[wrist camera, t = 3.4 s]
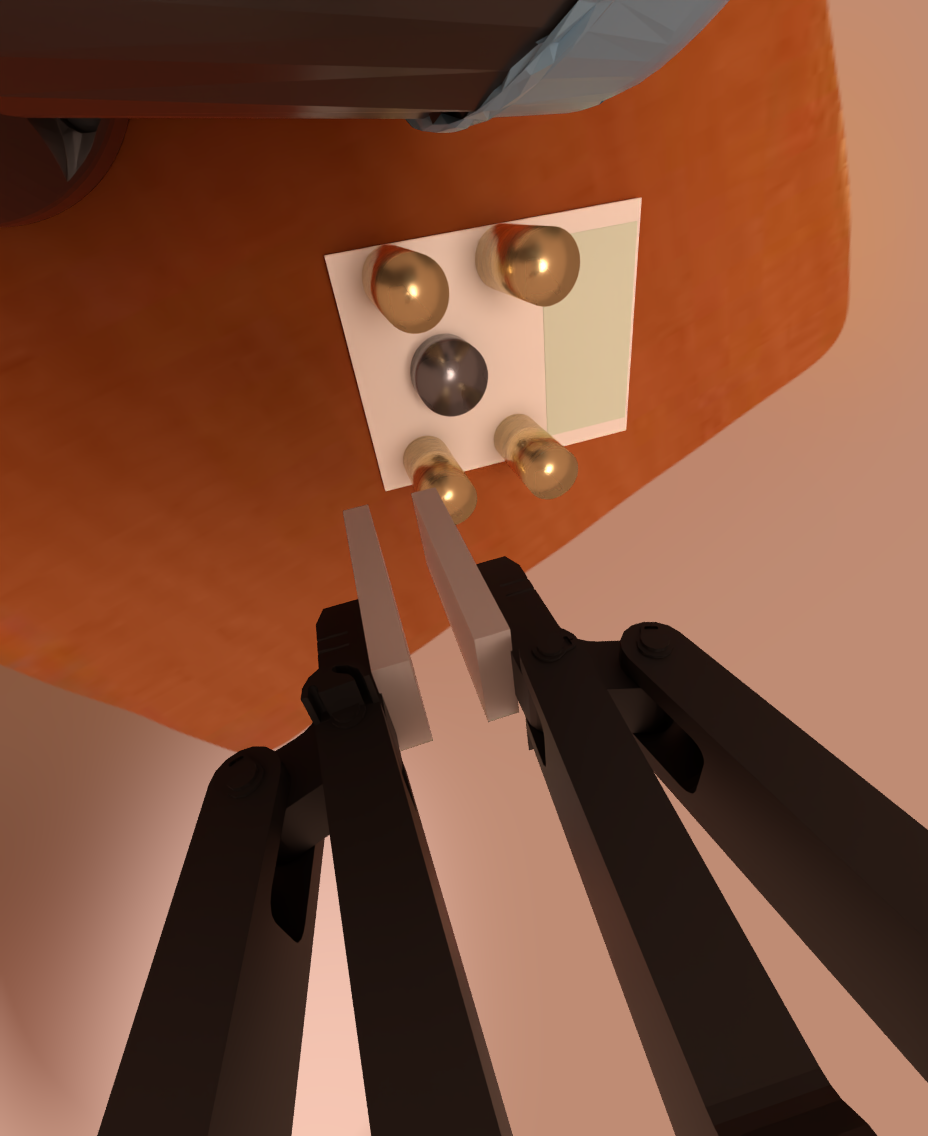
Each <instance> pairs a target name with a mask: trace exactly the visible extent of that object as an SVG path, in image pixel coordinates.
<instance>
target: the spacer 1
mask: <svg viewBox="0 0 928 1136" xmlns="http://www.w3.org/2000/svg"><path fill="white" fill-rule="evenodd" d="M362 283H363V288H364V290H365V293H366V295H367V297H368V298H369V299H370V301H371V302H372V303H373V304H374V305H375V306H376V307H377V309H378V310H379V311H380V312H381V313H382V314H383V315H384V316H385V317H386V319H387V320H388V321H389V322H390V323H391V324H392V325H393V326H394V327H396V328H397V329H399V330H401V331H403V332H406V333H411V334H419V333H424V332H426V331H429V330H431V329H432V328H434V327H435V326H436V325H437V324H438V323H439V322H440V321H441V319H442V318H443V316H444V314H445V312H446V310H447V307H448V303H449V285H448V281H447V278H446V276H445V273H444V272H443V270H442V268H441V267H440V266H439V264H438V263H437V262H436V261H435V260H433V259H432V258H431V257H429V256H427V255H424V254H422V253H419V252H416V251H412V250H409V249H406V248H403V247H400V246H397V245H390V244H388V245H382V246H380V247H377V248H376V249H374V250H373V251H372V252H371V253H370V254H369V255H368V257H367V258H366V260H365V262H364V265H363V269H362Z"/></svg>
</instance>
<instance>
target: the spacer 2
mask: <svg viewBox="0 0 928 1136" xmlns="http://www.w3.org/2000/svg"><path fill="white" fill-rule="evenodd" d="M403 465H404V468H405V470H406V472H407V474H408V477H409V479H410V481H411V483H412V486H413V488H414V490H415V492H418V491H422V490H426V489H430V488H434V487H435V488H436V489H437V491H438V493H439V495H440V497H441V499H442V501H443V503H444V505H445V507H446V508H447V510H448V512H449V514H450V516H451V518H452V520H453V522H454V524H455V525H457V524H459V523H461V522H463V521H465V520H466V519H467V518H468V517H469V516H470V515H471V514H472V512H473V511H474V509H475V506H476V503H477V494H476V490H475V488H474V486H473V485H472V483H471V482H470V480H469V479H468V477H467V476H466V474H465V473H464V471H463V470H462V468H461V467H460V465H459V464H458V462H457V461H456V459H455V458H454V456H453V455H452V453H451V452H450V450H449V449H448V447H447V446H446V444H445V443H444V442H443V441H442V440H440V439H439V438H437V437H434V436H422V437H419V438H417V439H415V440H413V441H412V442H411V443H410V444H409V445H408V446H407V448H406V449H405V452H404V455H403Z"/></svg>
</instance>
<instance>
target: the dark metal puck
mask: <svg viewBox="0 0 928 1136" xmlns="http://www.w3.org/2000/svg"><path fill="white" fill-rule="evenodd" d="M410 376H411V381H412V384H413V387H414V389H415V390H416V392H417V394H418V395H419V396H420V398H421V399H422V401H423V402H424V403H425V405H426V406H427V407H428V408H429V409H430V410H432V411H433V412H435V413H437V414H439V415H442V416H448V417H453V416H459V415H462V414H465V413H467V412H468V411H470V410H471V409H473V408H474V407H475V406H476V405H477V404H478V403H479V402H480V400H481V399H482V397H483V395H484V393H485V391H486V388H487V383H488V370H487V366H486V362H485V360H484V358H483V357H482V355H481V354H480V352H479V351H478V350H477V349H476V348H475V347H473V346H472V345H471V344H469V343H468V342H466V341H465V340H464V339H462V338H461V337H459V336H456V335H453V334H447V333H443V334H437V335H434V336H432V337H430V338H428V339H426V340H425V341H424V342H423V343H422V344H421V345H420V346H419V347H418V349H417V350H416V352H415V353H414V356H413V358H412V361H411V367H410Z"/></svg>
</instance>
